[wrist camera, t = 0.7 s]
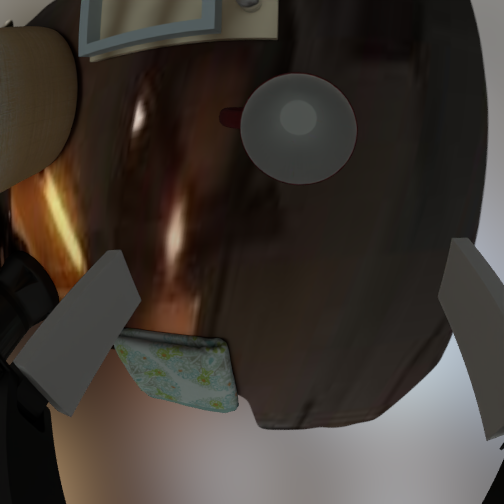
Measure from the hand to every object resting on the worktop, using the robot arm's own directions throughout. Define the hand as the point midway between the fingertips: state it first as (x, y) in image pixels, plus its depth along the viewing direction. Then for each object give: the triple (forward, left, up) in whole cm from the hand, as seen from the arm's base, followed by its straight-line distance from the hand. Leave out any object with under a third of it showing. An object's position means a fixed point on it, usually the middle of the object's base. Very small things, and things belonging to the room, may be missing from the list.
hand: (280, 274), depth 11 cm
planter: (-36, +10, -21) cm, 43 cm away
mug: (-1, +4, -21) cm, 22 cm away
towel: (-17, -38, -22) cm, 47 cm away
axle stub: (-4, +16, -20) cm, 26 cm away
